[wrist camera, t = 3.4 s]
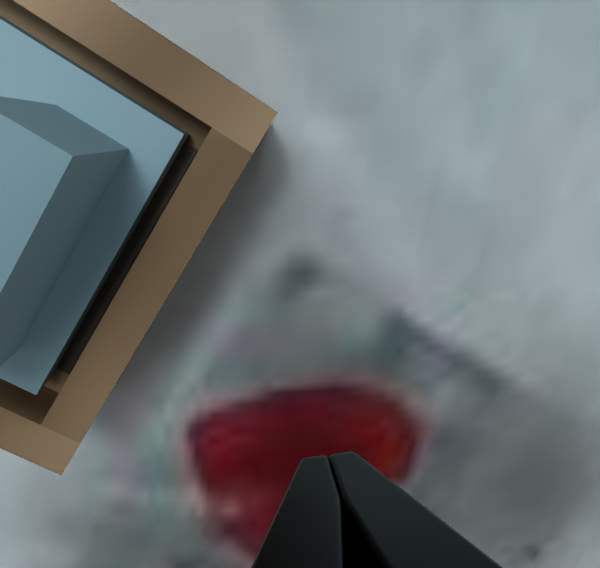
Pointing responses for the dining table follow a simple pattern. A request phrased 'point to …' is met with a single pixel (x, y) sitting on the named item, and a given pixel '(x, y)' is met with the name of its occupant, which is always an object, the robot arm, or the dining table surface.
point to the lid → (65, 196)
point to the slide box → (154, 223)
